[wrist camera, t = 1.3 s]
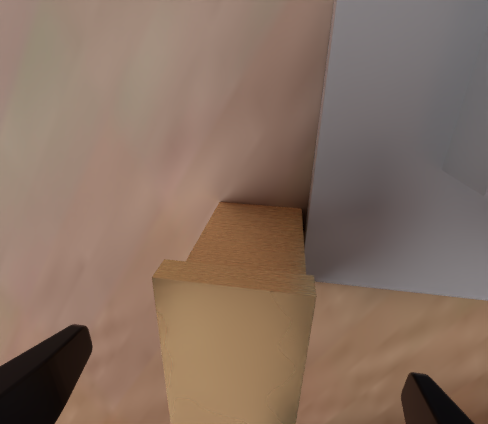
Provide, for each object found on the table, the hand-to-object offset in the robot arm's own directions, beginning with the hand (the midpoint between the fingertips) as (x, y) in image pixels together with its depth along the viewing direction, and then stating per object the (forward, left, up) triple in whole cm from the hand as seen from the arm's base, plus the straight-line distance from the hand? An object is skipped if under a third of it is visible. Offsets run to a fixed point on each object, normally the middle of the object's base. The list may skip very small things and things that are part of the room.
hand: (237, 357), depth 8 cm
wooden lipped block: (0, 0, -6) cm, 6 cm away
